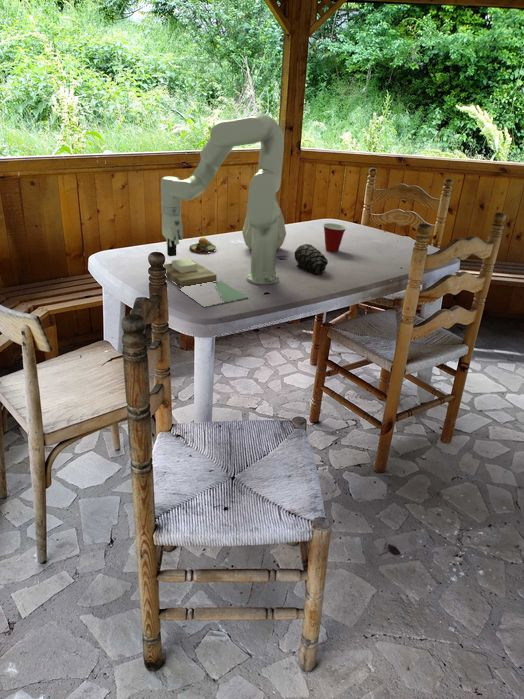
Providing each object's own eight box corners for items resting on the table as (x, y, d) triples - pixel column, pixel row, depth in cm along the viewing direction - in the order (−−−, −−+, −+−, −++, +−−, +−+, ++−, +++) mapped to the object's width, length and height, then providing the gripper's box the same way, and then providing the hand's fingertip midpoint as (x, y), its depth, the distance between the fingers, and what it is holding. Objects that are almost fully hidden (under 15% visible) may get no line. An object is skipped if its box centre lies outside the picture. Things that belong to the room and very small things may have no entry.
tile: (197, 270, 216) (197, 264, 214) (181, 272, 212) (180, 266, 211) (187, 264, 221) (187, 258, 220) (171, 266, 218) (171, 260, 217)
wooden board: (216, 282, 213) (216, 274, 212) (181, 288, 205) (181, 281, 204) (192, 267, 228) (191, 260, 226) (158, 272, 220) (158, 265, 219)
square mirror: (247, 298, 199) (247, 297, 199) (204, 307, 190) (204, 306, 190) (221, 282, 213) (221, 281, 213) (179, 290, 204) (179, 288, 204)
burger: (216, 247, 255) (216, 231, 252) (215, 254, 245) (215, 238, 241) (190, 246, 255) (190, 230, 251) (188, 254, 244) (188, 237, 241)
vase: (232, 247, 254) (233, 180, 240) (265, 241, 266) (268, 176, 253) (261, 259, 241) (264, 188, 227) (294, 251, 253) (298, 184, 239)
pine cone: (317, 278, 222) (319, 254, 218) (288, 266, 235) (290, 243, 230) (335, 273, 228) (338, 250, 224) (306, 262, 240) (308, 239, 236)
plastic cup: (348, 253, 254) (351, 227, 248) (327, 255, 250) (330, 229, 245) (337, 246, 263) (339, 221, 257) (316, 248, 259) (319, 222, 254)
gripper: (188, 213, 211) (188, 259, 219) (171, 204, 222) (172, 249, 230) (170, 215, 207) (171, 262, 216) (154, 206, 218) (155, 251, 226)
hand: (171, 255), depth 223 cm, fingers closed
